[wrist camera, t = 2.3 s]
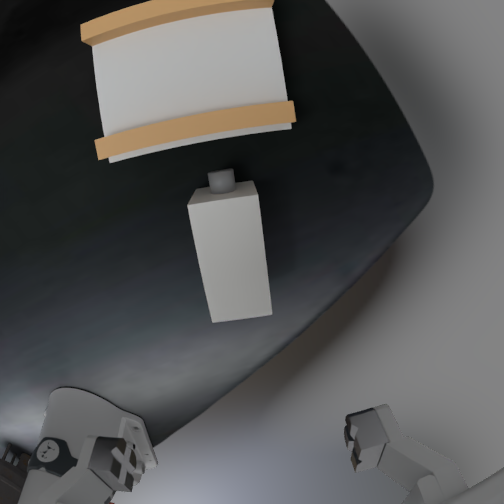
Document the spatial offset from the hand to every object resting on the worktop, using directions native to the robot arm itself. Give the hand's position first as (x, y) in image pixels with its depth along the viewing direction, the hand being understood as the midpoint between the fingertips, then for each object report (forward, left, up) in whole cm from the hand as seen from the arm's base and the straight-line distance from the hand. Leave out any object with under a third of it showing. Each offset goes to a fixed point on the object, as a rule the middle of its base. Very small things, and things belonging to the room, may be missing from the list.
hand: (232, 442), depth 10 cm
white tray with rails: (+15, +1, -21) cm, 26 cm away
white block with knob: (0, 0, -21) cm, 21 cm away
